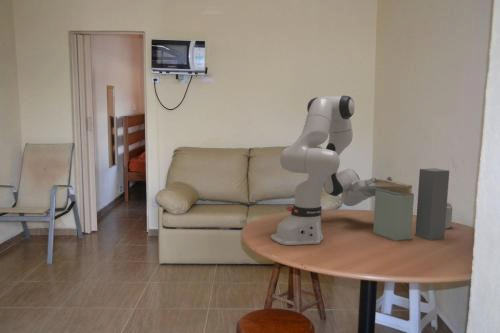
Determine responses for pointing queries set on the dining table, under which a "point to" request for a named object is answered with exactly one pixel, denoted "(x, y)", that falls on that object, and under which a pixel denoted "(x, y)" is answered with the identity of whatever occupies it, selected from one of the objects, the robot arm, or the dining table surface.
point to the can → (448, 216)
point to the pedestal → (432, 203)
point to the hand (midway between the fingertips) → (382, 178)
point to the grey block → (393, 214)
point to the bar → (394, 186)
